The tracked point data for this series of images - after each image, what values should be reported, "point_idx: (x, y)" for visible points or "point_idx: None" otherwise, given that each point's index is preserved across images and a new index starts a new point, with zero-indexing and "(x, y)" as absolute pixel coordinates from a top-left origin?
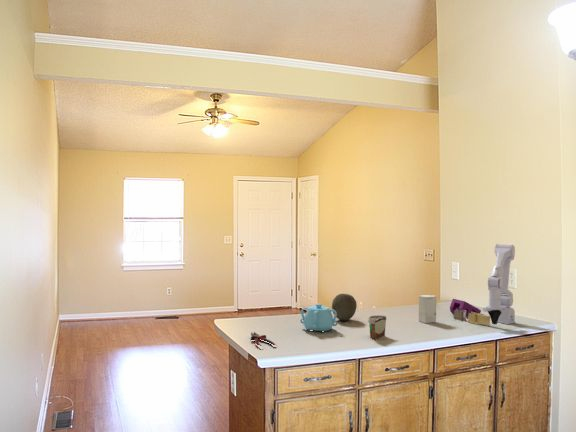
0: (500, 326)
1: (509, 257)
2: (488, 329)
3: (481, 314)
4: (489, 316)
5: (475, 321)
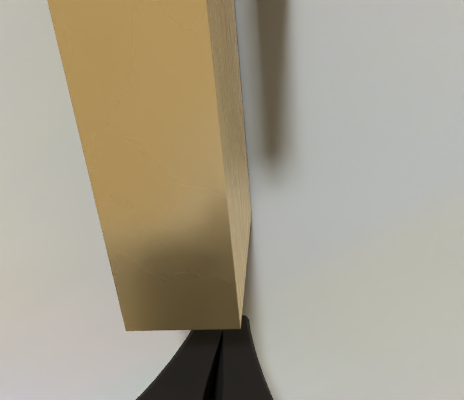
0: (371, 315)
1: None
2: (36, 326)
3: (206, 29)
4: (212, 325)
5: None
